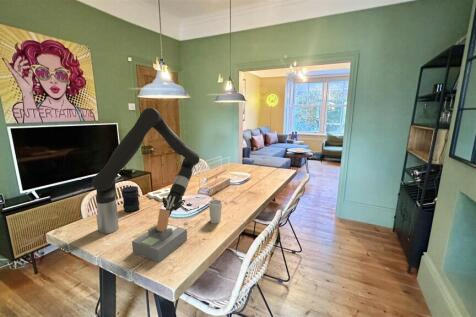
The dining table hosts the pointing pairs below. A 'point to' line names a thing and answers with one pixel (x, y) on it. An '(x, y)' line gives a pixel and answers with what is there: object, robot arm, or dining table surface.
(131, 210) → the storage jar
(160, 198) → the holder
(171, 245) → the box
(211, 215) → the cup
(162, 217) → the handle
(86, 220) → the dining table surface
